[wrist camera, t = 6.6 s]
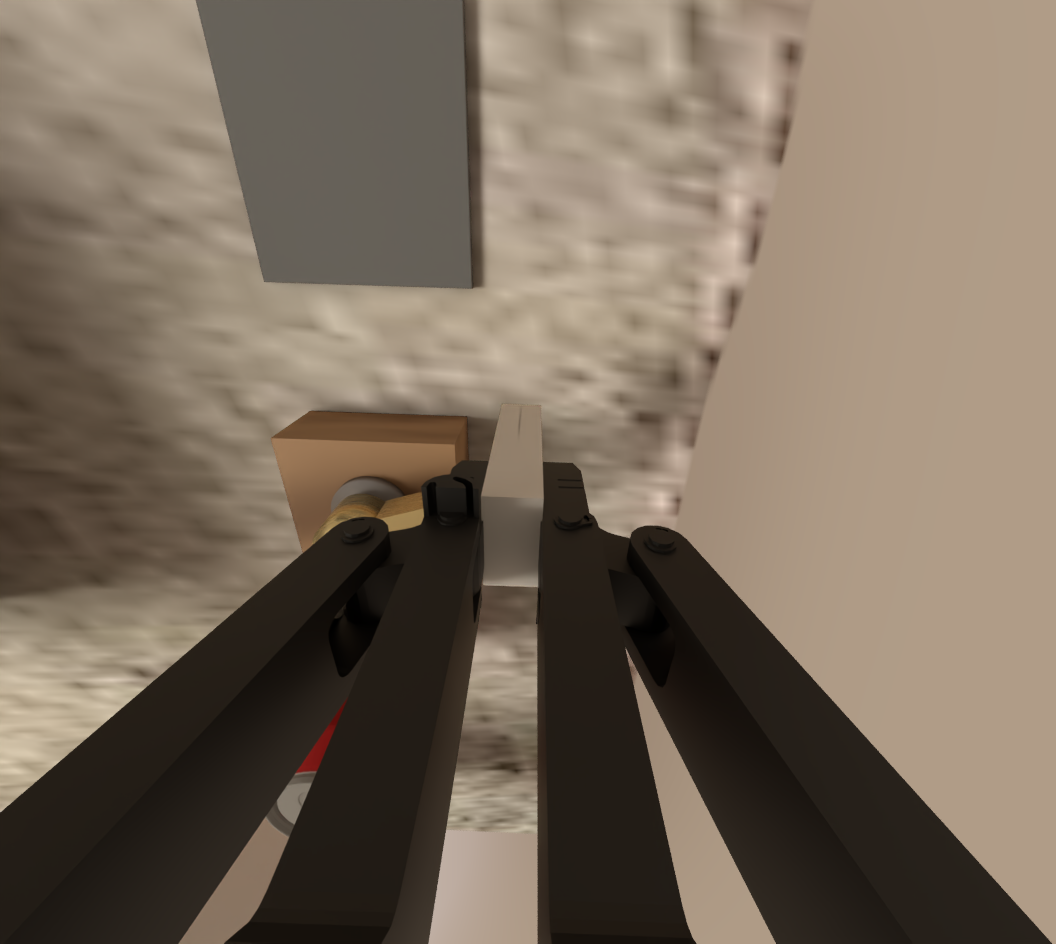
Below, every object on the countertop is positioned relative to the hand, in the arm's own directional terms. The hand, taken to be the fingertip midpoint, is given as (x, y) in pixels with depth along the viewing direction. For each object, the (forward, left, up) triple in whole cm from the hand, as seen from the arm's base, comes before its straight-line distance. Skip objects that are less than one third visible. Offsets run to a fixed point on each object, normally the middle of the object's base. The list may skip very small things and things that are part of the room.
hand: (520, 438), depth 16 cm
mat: (-9, -7, -5) cm, 13 cm away
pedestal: (+5, -7, -5) cm, 10 cm away
